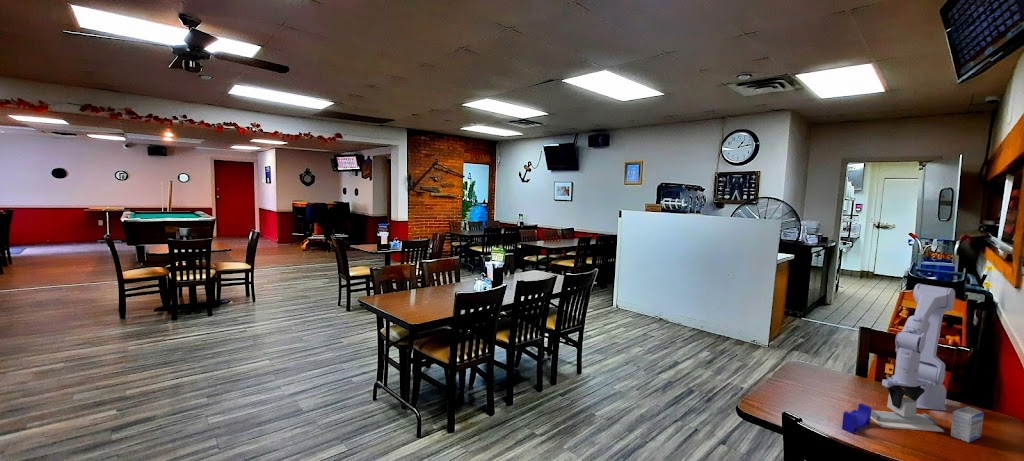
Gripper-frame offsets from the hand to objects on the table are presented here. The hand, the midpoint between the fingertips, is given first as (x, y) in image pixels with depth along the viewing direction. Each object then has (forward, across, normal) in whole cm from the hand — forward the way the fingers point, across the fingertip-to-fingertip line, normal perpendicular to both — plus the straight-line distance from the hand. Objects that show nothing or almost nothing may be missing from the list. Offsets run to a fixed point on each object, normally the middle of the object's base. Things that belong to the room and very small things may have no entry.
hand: (902, 406), depth 144 cm
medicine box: (+6, -12, +9) cm, 16 cm away
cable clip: (+6, +18, +2) cm, 19 cm away
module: (+2, 0, 0) cm, 2 cm away
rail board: (+5, 0, 0) cm, 5 cm away
